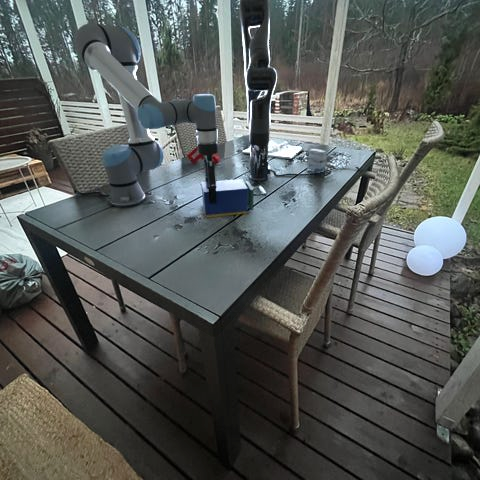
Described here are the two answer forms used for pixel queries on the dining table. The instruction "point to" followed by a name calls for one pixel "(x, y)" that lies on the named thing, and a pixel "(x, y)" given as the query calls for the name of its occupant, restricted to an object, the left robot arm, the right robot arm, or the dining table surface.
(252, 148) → the right robot arm
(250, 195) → the drawer
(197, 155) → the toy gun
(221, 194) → the cabinet
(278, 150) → the relief map
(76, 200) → the dining table surface
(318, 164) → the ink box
